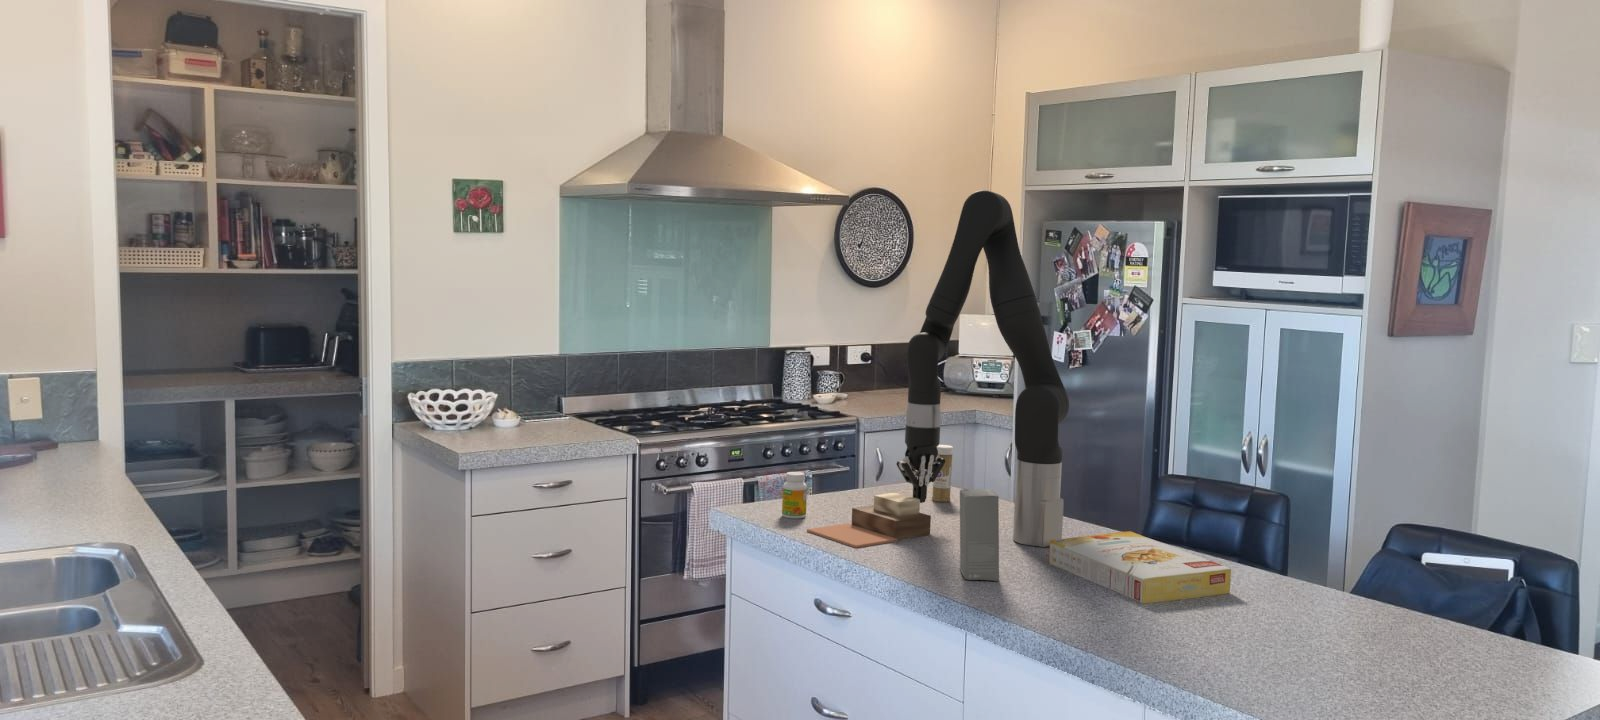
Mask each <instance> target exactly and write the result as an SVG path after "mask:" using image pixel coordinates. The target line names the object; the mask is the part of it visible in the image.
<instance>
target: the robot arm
mask: <svg viewBox="0 0 1600 720" xmlns="http://www.w3.org/2000/svg"><path fill="white" fill-rule="evenodd" d="M957 223H958V224H957V228H956V231H955V235H954V238H953V242H952V244H951V247H950V251H949V253H948V257H947V259H946V261H945V264H944V266H943V270H942V271H941V275H940V277H939V279H938V281H937V283H936V286H935V288H934V290H933V293H932V294H931V296H930V299H929V302H928V303H927V307H926V309H925V319H924V322H923V323H922V324H923V325H922V327H921V329H920V331H919V332H918V333H916V334H915V335H913V336H912V337H910V340H909V342H908V344H907V349H906V365H907V374H908V389H907V390H908V391H907V406H906V413H905V429H904V430H905V432H904V434H905V435H904V443H905V444H906V450H905V453H904V457H903V459H902V460H898V461H897V462H896V467H897V468H898V470H899V471H900V474H901V476H902V477H903V479H904V480H905V482H906V483H909V484H912V497H913V498H917V499H920V504H922V503H925V502H926V500H927V493H928V486H929V485H930V483H933V482H934V481H935V479H936V477H937V476H938V474H939V472H940V471H941V469H942V467H943V465H944V464H945V459H943V458H941V457H940V456H939V455H938V450H937V446H938V445H940V442H941V441H940V440H941V439H940V438H941V418H942V416H941V415H942V411H941V395H942V394H941V393H942V391H941V390H942V384H941V380H940V378H939V374H938V373H939V361H941V359H942V358H943V357H944V355H945V353H946V352H947V349H948V346H949V343H950V341H951V338H952V334H953V331H954V327H955V324H956V322H957V320H958V319H959V316H960V314H961V312H962V310H963V307H964V306H965V303H966V300H967V298H968V295H969V292H970V289H971V286H972V283H973V282H972V281H973V276H974V272H975V267H976V264H977V262H978V258H979V257H980V255H981V252H982V250H983V252H984V254H985V258H986V262H987V267H988V268H987V269H988V290H989V299H990V303H991V307H992V311H993V314H994V318H995V322H996V324H997V327H998V330H999V332H1000V334H1001V336H1002V339H1004V341H1005V344H1007V346H1008V349H1009V350H1010V352H1011V353H1012V355H1013V356H1014V358H1015V359H1016V361H1017V364H1018V365H1019V368H1020V370H1021V374H1022V378H1023V381H1024V385H1025V388H1024V389H1023V390H1022V391H1021V392H1020V393H1019V395H1018V396H1017V399H1016V402H1015V403H1016V404H1015V411H1014V412H1015V413H1014V446H1015V449H1016V452H1017V453H1016V468H1015V470H1016V471H1015V472H1016V473H1015V488H1014V489H1015V490H1014V510H1013V529H1012V530H1013V532H1012V540H1013V542H1016V543H1018V544H1021V545H1027V546H1033V547H1040V548H1045V547H1049V543H1050V541H1051V540H1057V539H1063V526H1064V525H1063V524H1064V523H1063V522H1064V504H1065V502H1064V501H1065V500H1064V498H1062V497H1061V486H1062V485H1061V483H1062V469H1063V468H1062V466H1063V448H1062V447H1061V445H1060V444H1059V424H1061V423H1062V422H1063V421H1064V420H1065V419H1066V418H1067V416H1068V413H1069V411H1070V410H1069V408H1070V400H1069V396H1068V393H1067V391H1066V388H1065V385H1064V383H1063V380H1062V379H1061V377H1060V376H1061V375H1060V374H1059V371H1058V370H1057V366H1056V364H1055V362H1054V359H1053V355H1052V351H1051V348H1050V344H1049V340H1048V337H1047V336H1048V335H1047V333H1046V329H1045V326H1044V322H1043V319H1042V313H1041V310H1040V307H1039V304H1038V301H1037V296H1036V294H1035V291H1034V288H1033V284H1032V282H1031V279H1030V276H1029V273H1028V270H1027V267H1026V264H1025V263H1024V259H1023V257H1022V254H1021V250H1020V247H1019V242H1018V237H1017V230H1016V225H1015V220H1014V214H1013V211H1012V206H1011V204H1010V203H1009V201H1008V199H1006V198H1005V196H1003V195H1001V194H999V193H997V192H994V191H991V190H986V189H983V190H982V189H981V190H977V191H974V192H972V193H971V194H970V195H968V197H967V198H966V199H965V201H964V202H963V205H962V208H961V212H960V215H959V220H958V222H957Z"/></svg>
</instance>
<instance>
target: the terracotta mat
mask: <svg viewBox="0 0 1600 720" xmlns="http://www.w3.org/2000/svg"><path fill="white" fill-rule="evenodd" d="M806 532H808V533H810V534H813V535H817V536H819V537H822V538H825V539H828V540H832V541H834V542H837V543H840V544H843V545H846V546H848V547H849V546H850V547H853V548H855V549H859V548H864V547H865V548H866V547H870V546H877V545H882V544H888V543H894V542H897V539H896V538H892V537H889V536H886V535H883V534H880V533H876V532H873V531H870V530H867V529H864V528H860V527H857V526H854V525H852V523H851V524H850V523H846V522H845V523H840V524H833V525H828V526H826V525H825V526H820V527H813V528H807V529H806Z"/></svg>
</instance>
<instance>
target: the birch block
mask: <svg viewBox="0 0 1600 720" xmlns="http://www.w3.org/2000/svg"><path fill="white" fill-rule="evenodd" d="M873 505H874V509H875V510H879V511H882V512H886V513H889V514H893V515H896V516H904V515H911V514H918V513H920V508H921V503H920V499H917V498H913V496H909V495H906V494H901V493H897V492H891V493H890V492H889V493H882V494H881V493H880V494H875V495H873Z"/></svg>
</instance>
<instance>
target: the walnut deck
mask: <svg viewBox="0 0 1600 720" xmlns="http://www.w3.org/2000/svg"><path fill="white" fill-rule="evenodd" d="M931 521H932V515H929V514H926V513H922V512H919V513H918V514H911V515H904V516H896V515H893V514H889V513H886V512H882V511H879V510H875V509H874V504H873V505H872V504H871V505H866V506H865V505H863V506H857V507H852V508H851V525H854V526H857V527H860V528H864V529H867V530H870V531H873V532H876V533H880V534H883V535H886V536H889V537H892V538H896V539H897V540H903V539H909V538H916V537H922V536H926V535H927V536H928V535H931V524H932V523H931Z"/></svg>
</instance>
